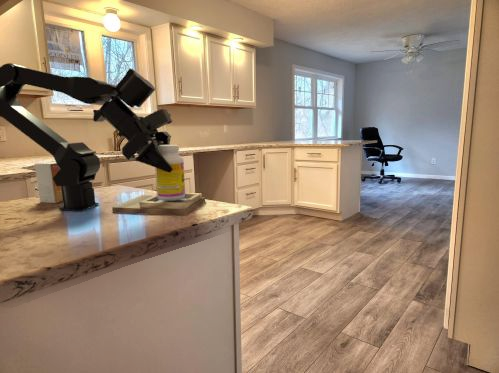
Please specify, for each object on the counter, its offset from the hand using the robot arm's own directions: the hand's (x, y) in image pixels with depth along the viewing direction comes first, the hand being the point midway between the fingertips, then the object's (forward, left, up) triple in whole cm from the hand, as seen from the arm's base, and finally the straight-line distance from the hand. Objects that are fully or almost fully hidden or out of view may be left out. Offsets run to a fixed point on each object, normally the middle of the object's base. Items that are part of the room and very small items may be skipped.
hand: (175, 169), depth 76 cm
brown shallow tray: (-4, 0, -9) cm, 10 cm away
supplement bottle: (-1, 0, -7) cm, 8 cm away
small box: (-36, +3, -10) cm, 38 cm away
